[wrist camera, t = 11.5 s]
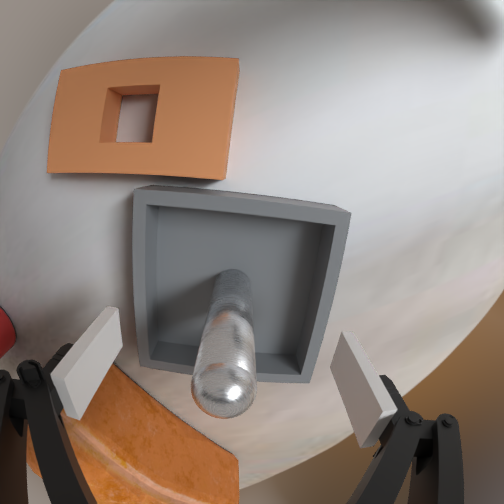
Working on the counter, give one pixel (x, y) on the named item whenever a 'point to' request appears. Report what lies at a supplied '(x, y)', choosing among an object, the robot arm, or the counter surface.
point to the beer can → (6, 333)
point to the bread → (144, 451)
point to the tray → (241, 258)
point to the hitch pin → (227, 350)
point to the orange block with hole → (166, 120)
